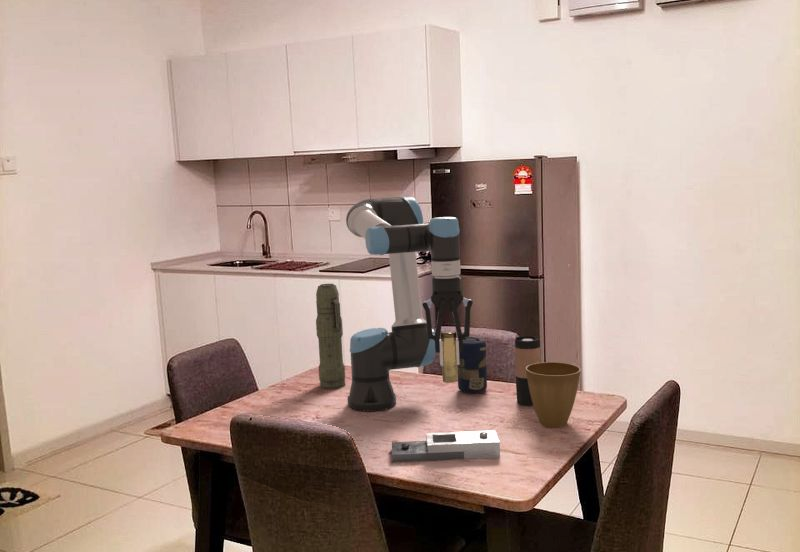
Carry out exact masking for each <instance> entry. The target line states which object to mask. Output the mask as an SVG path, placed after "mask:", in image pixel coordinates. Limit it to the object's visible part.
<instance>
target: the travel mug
mask: <svg viewBox="0 0 800 552" xmlns="http://www.w3.org/2000/svg"><path fill="white" fill-rule="evenodd" d="M514 358H515V359H514V361H515V362H514V364H515V365H514V368H515V389H516V403H517V405H520V406H523V407H534V406H533V402H532V399H531V395H530V390H529V386H528V380H527V374H526V367H527V366H528V365H531V364H535V363H542V362H541V339H540V337H539V338H537V337H536V336H533V335H522V336H516V337H515V339H514Z"/></svg>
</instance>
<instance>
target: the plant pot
mask: <svg viewBox="0 0 800 552" xmlns="http://www.w3.org/2000/svg"><path fill="white" fill-rule="evenodd" d="M581 371H582V370H581V368H580V367H579V366H578V365H575V364H572V363H566V362H558V361H557V362H556V361H546V362H545V361H544V362H543V361H542V362H541V363H535V364H531V365H528V366H527V367H526V374H527V380H528V386H529V390H530V395H531V399H532V402H533V406H532V407H533V408H534V411H535V414H536V417H537V419H538V422H539V423H538V424H539V425H541V426H542V427H546V428H550V429H551V428H553V429H556V428H557V429H558V428H563V427H565V426H567V424H568V421H569V419H570V416H571V415H572V410H573V407H574V405H575V402H576V401H575V400H576V398H577V392H578V390H579V389H578V387H579V382H580V376H581Z"/></svg>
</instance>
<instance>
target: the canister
mask: <svg viewBox="0 0 800 552" xmlns="http://www.w3.org/2000/svg"><path fill="white" fill-rule="evenodd" d="M459 364H460V365H457V371H458V381H457V388H458V390H459V391H460V392H462V393H467V394H479V393H482V392H484V391H486V390H487V388H488V365H487V364H488V363H487V341H486V340H485V339H483V338H480V337H473V336H469V337H466V338H464V339H463V351H460V352H459Z"/></svg>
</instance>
